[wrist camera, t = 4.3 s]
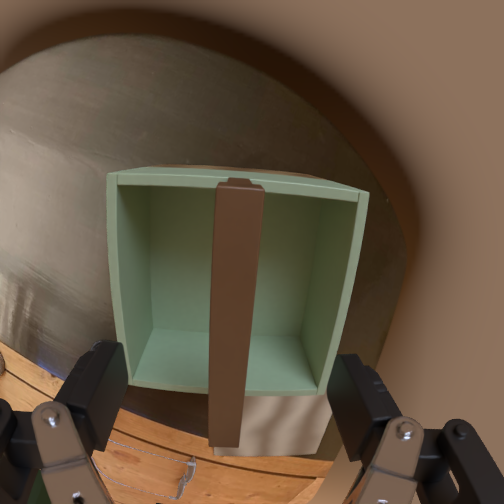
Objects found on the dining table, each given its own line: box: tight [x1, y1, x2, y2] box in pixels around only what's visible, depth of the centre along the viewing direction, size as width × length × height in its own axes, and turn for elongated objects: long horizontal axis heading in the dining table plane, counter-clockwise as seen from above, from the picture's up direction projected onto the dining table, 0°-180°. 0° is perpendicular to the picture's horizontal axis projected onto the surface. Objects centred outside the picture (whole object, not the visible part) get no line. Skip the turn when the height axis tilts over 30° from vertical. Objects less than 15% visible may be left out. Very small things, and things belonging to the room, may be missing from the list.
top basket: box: [106, 167, 369, 448], centre depth 17 cm, size 13×13×11 cm
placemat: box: [214, 387, 332, 456], centre depth 37 cm, size 16×16×1 cm
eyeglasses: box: [91, 439, 196, 500], centre depth 37 cm, size 15×18×4 cm
